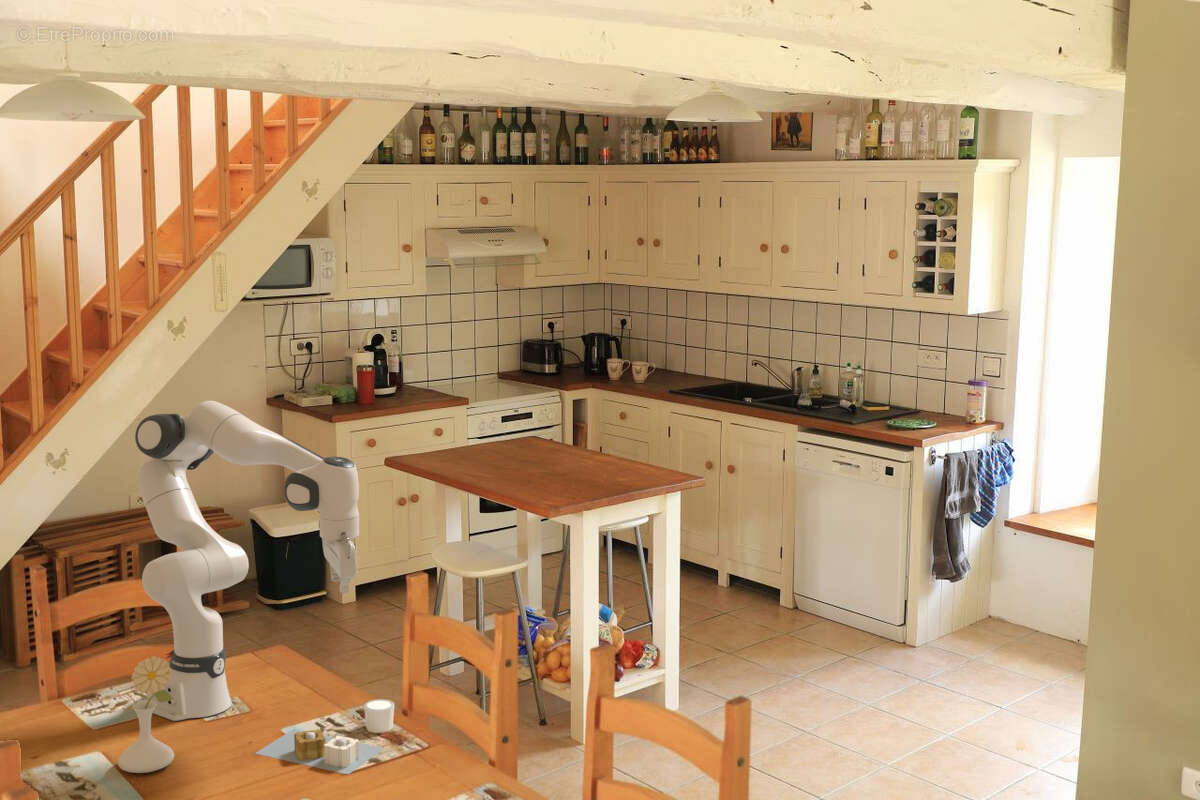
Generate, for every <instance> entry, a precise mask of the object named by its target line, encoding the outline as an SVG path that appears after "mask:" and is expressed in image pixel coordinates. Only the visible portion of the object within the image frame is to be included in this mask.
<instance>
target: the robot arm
mask: <svg viewBox="0 0 1200 800" xmlns="http://www.w3.org/2000/svg"><path fill="white" fill-rule="evenodd" d="M134 436H135V437H134V440H135V444H136V447H137V448H138V449H139V451H140V452H141V453H142V454H144V455H145V456H148V457H150V458H149V459H147V460H146V461H145V462H143V463H142V464H141V465H140V467H139V468H138V471H137V478H138V485H139V491H140V493H141V497H142V500H143V503H144V507H145V509H146V511H147V515H148V517H149V519H150V523H151V525H152V528H153V531H154V533H155V535H156V536H157V537H158V538H159V539H160V540H161V541H164V542H167V543H170V544H172V545H174V546H177V547H178V548H179V549H180V550H182V551H176V552H171V553H168V554H164V555H162V556H160V557H158V558H155V559H152V560H151V561H149V562H147V564H146V566H145V567H144V569H143V572H142V576H141V577H142V578H141V582H142V587H143V590H144V591H145V593H146V594H147V596H148V597H149V598H150V599H152V601H153V602H156V603H158V604H159V605H161V606H162V607H163V608H164V609H165V610H166V611H167V613H168V615H169V618H170V620H171V623H172V632H173V644H174V645H173V646H174V647H173V648H174V649H173V650H171V651H170V652H169V653H168V652H167V653H166V654H165V656H166V657H165V658H164V660H166V659H169V658H170V660H169V666H168V667H170V668H171V670H170V672H172V675H171V678H170V681H169V682H168V683H167V686H166V687H165V688H164V689H163V690H166V691H167V692H168V693H169V695H170V696H171V697H172V698H173V700H170V701H166V702H159V701H158V700H157V698H156V697H155V694H154V696H153V698H152V699H151V700H150V701H155V702H156V703H157V705H156V707H155V708H154V710H153V712H152V714H154V715H157V716H159V717H162V718H165V719H168V720H170V721H173V722H176V721H177V722H178V721H183V720H187V719H195V718H205V717H206V718H207V717H211V716H215V715H218V714H219V713H222V712H224V711H226V710H228V709H229V708H230V707H231V706H232V703H233V701H232V699H231V696H230V692H229V688H228V683H227V677H226V670H225V666H226V648H225V646H224V634H223V633H224V630H223V629H224V628H223V624H224V623H223V619H222V617H221V615H220V614H219V613H218V611H216V610H215V609H213V608H210V607H207V606H203V603H202V595H204V594H208V593H212V592H213V593H214V592H216V591H220V590H225V589H228V588H230V587H232V586H234V585H236V584H238V583H240V582H242V581H244V580H245V578H246V576H247V574H248V572H249V558H248V554H247V553H246V552H245V550H244V549H243V547H241V545H239V544H237V543H234V542H232V541H229V540H227V539H225V538H224V537H223V536H221V535H220V534H219V533H217V532H216V531H215V530H214V529H213V528H212V527H211V525H209V524H208V522H207V521H206V519H205V518H204V516H203V515H202V514H203V513H202V512H201V510H200V508H199V505H198V504H197V501H196V499H195V497H194V494H193V491H192V489H191V487H190V485H189V482H188V479H187V475H186V473H187V470H190V471H192V470H193V471H194V470H196V469H197V468H198V467H199V466H200V465H201V464H202V463H203V462H205V461H207V460H208V459H209V458H210V457H211V456H212V455H213V454H216V455H217V456H219V457H220V458H222V459H223V460H225V461H227V462H230V463H232V464H235V465H238V466H255V465H256V466H257V465H258V466H259V465H276V466H280V467H284V468H287V469H289V470H290V471H293V472H291V473H290V474H289V475H288V476H287V477H286V479H285V481H284V483H283V495H284V499H285V501H286V503H287V504H288V506H290V507H291V508H292V509H293V510H294V511H297V512H309V511H318V513H319V520H318V528H319V537H320V538H321V542H322V551H323V556H324V558H325V560H327V562H328V563H329V568H330V573H331V574H330V575H331V581H332V582H334V583H337V582H338V583H339V582H340V584H339V592H340V593H341V595H342V594H343V595H345V594H348V593H350V584H351V579H354V578H356V577H357V575H358V574H357V571H358V570H357V567H358V566H357V551H356V546H355V544H354V542H355V541H354V539H355V538H357V537H359V535H360V512H359V509H358V501H359V498H360V484H359V483H360V481H359V474H358V470H357V467H356V466H357V465H356V464H355V462H354V461H352V460H350V459H349V458H347V457H342V456H333V455H332V456H328V457H323V456H322V455H320V454H318V453H316V452H314V451H312V450H311V449H309V448H307V447H305V446H303V445H302V444H299V443H298V442H296V441H294V440H292V439H290V438H288V437H286V436H284V435H281V434H279V433H276V432H275V431H272V430H270V429H268V428H266V427H263V426H262V425H260V424H259V423H257V422H255V421H253V420H251V419H250V418H248V417H247V416H245V415H244V414H242V413H240V412H239V411H237V410H235V409H234V408H232V407H230V406H228V405H227V404H226V405H225V404H223V403H222V402H219V401H215V400H203V401H201V402H199V403H198V404H196V406H194V408H193V409H192V410H191V412H190V414H188V415H187V416H184V415H179V413H159V414H153V415H148V416H147V417H145V418H144V419H141V421H140V422H139V423H138V425H137V427H136V430H135V435H134ZM144 695H145V696H146V697H147V698H148V699H146V698H143V697H140V698H139V699H138V700H137V701H136V703H137V702H140V701H146V700H149V699H150V698H151V696H152V695H153V694H151V695H147V694H144Z"/></svg>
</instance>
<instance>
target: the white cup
mask: <svg viewBox="0 0 1200 800" xmlns="http://www.w3.org/2000/svg"><path fill="white" fill-rule="evenodd" d="M395 705H396V704H395V702H394V701H393V700H392V701H391V699H384V698H383V699H382V698H380V699H372V700H369V701H367V702H365V704H364V705H363V709H364V717H365V726H366V727H365V728H366V731H368V732H370V733H375V734H377V733H378V734H380V733H381V734H382V733H385V732H389V731H390V730H392V729H393V726H394V725H393V724H394V715H395Z"/></svg>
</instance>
